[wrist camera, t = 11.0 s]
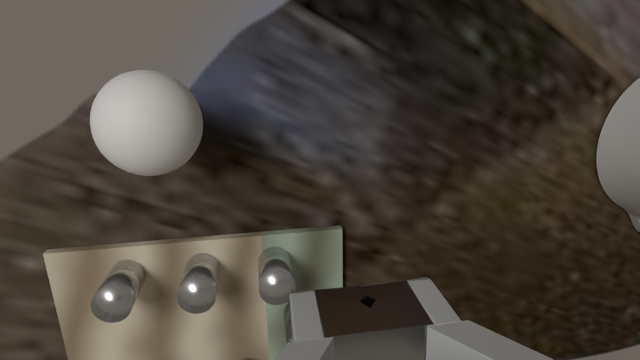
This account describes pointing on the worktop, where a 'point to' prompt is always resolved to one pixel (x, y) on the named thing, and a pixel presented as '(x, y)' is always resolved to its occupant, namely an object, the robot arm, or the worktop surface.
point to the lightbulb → (146, 122)
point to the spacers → (191, 284)
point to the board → (162, 288)
